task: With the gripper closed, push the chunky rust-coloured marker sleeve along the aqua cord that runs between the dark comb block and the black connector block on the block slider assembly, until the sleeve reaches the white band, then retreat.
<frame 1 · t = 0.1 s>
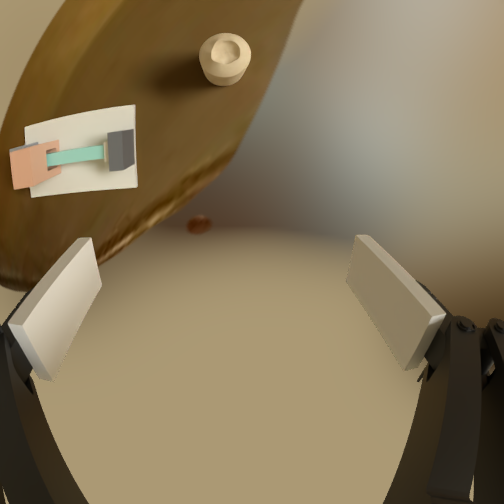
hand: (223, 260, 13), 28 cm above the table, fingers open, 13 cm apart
block slider assembly: (76, 152, 34), on the table
candle: (223, 68, 32), on the table
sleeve: (36, 163, 29), point 5 cm above the table, slide at 0.0 cm
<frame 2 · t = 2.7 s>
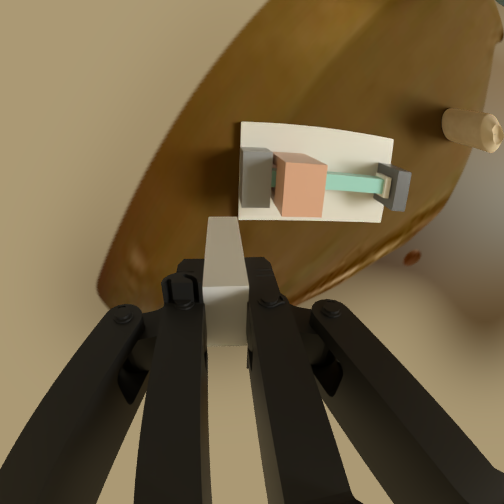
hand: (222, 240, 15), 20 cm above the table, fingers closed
block slider assembly: (319, 174, 34), on the table
candle: (451, 124, 32), on the table
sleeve: (294, 181, 29), point 5 cm above the table, slide at 0.0 cm
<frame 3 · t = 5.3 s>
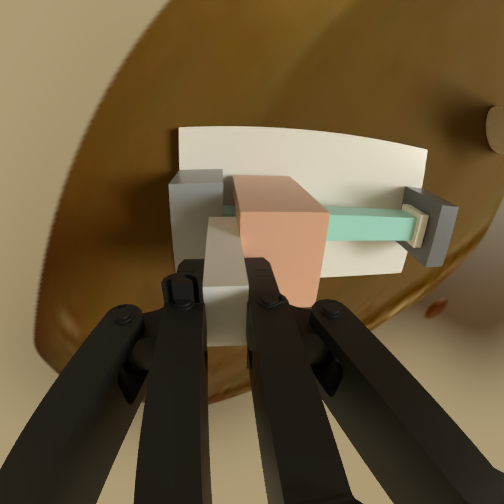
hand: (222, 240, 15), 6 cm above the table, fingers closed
block slider assembly: (312, 207, 22), on the table
candle: (495, 129, 20), on the table
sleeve: (268, 232, 17), point 5 cm above the table, slide at 0.2 cm, touching gripper
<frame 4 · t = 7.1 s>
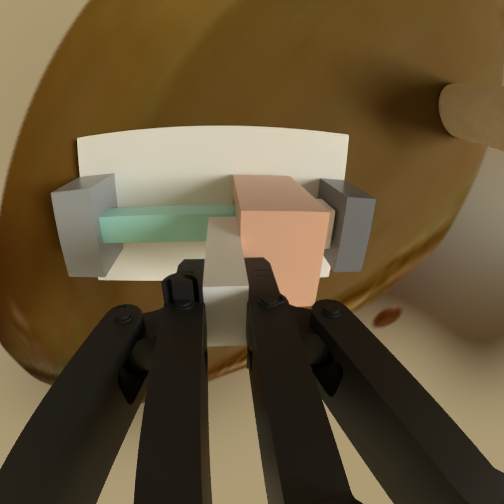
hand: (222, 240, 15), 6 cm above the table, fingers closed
block slider assembly: (209, 205, 21), on the table
candle: (455, 110, 19), on the table
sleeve: (268, 231, 17), point 5 cm above the table, slide at 8.1 cm, touching gripper
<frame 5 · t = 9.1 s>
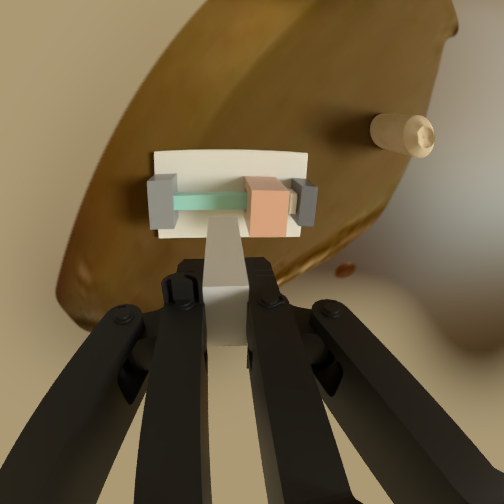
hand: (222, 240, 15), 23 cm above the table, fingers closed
block slider assembly: (230, 193, 37), on the table
candle: (383, 130, 36), on the table
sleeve: (263, 204, 33), point 5 cm above the table, slide at 8.2 cm
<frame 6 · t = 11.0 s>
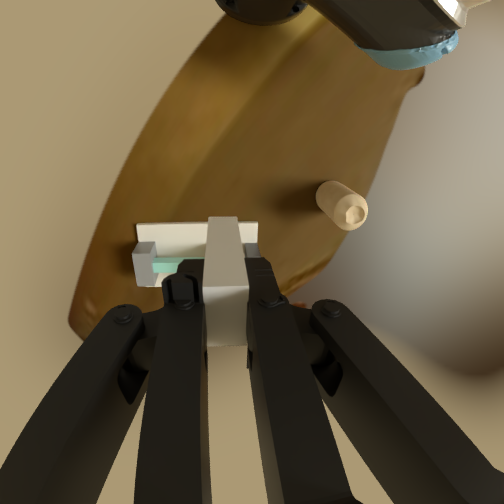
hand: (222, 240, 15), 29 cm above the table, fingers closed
block slider assembly: (197, 254, 48), on the table
candle: (330, 195, 46), on the table
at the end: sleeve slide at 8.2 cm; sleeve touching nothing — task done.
